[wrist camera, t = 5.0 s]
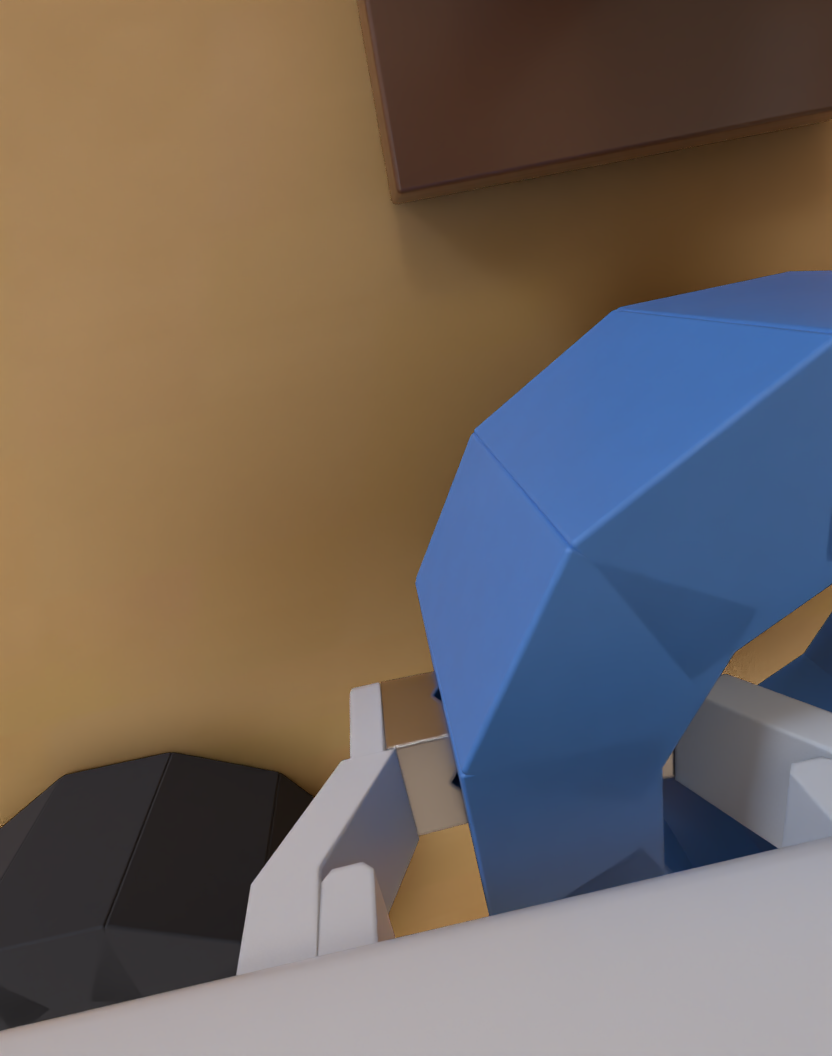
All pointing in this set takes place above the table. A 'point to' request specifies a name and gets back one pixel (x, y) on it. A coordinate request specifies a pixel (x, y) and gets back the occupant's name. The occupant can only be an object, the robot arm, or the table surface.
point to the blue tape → (629, 578)
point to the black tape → (133, 881)
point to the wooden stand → (582, 82)
